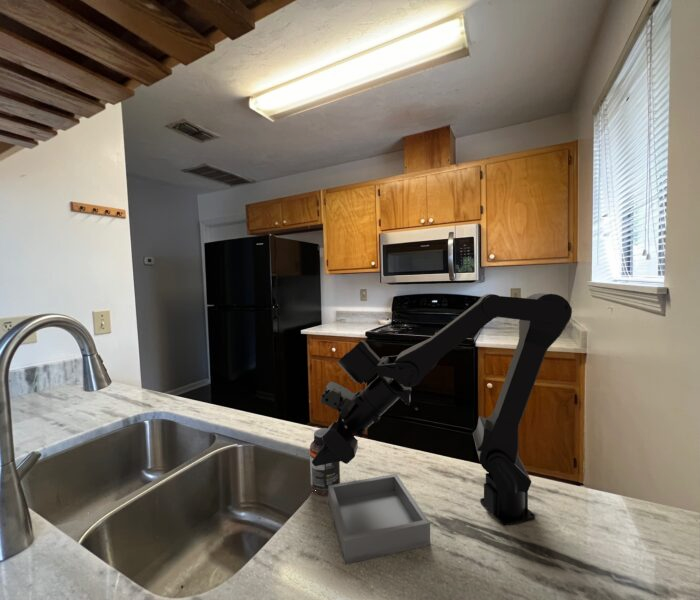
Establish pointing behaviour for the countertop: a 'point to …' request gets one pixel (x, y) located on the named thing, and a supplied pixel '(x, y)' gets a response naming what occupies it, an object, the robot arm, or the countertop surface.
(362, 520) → the tray
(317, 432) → the supplement bottle
